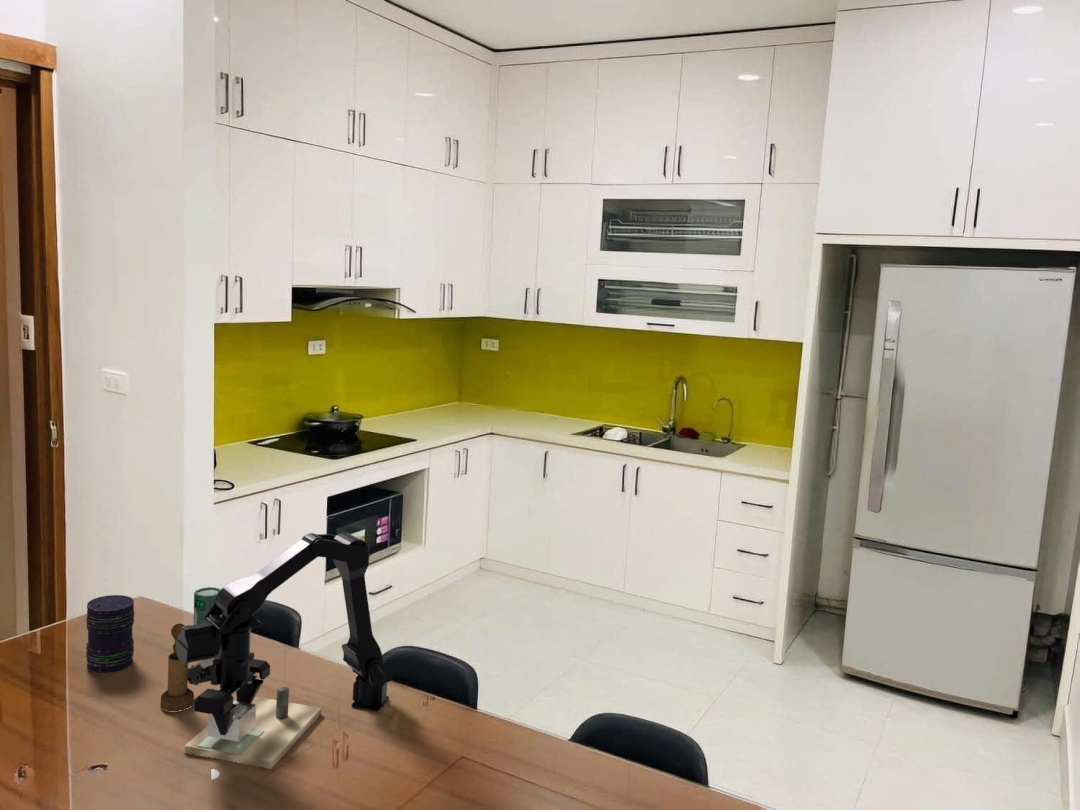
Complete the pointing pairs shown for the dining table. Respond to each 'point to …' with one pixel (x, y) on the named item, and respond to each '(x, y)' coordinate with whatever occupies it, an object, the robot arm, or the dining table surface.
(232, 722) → the collar
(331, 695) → the dining table surface
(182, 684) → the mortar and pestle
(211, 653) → the robot arm
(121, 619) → the storage jar
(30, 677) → the dining table surface
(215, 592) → the can
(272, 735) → the board
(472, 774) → the dining table surface
